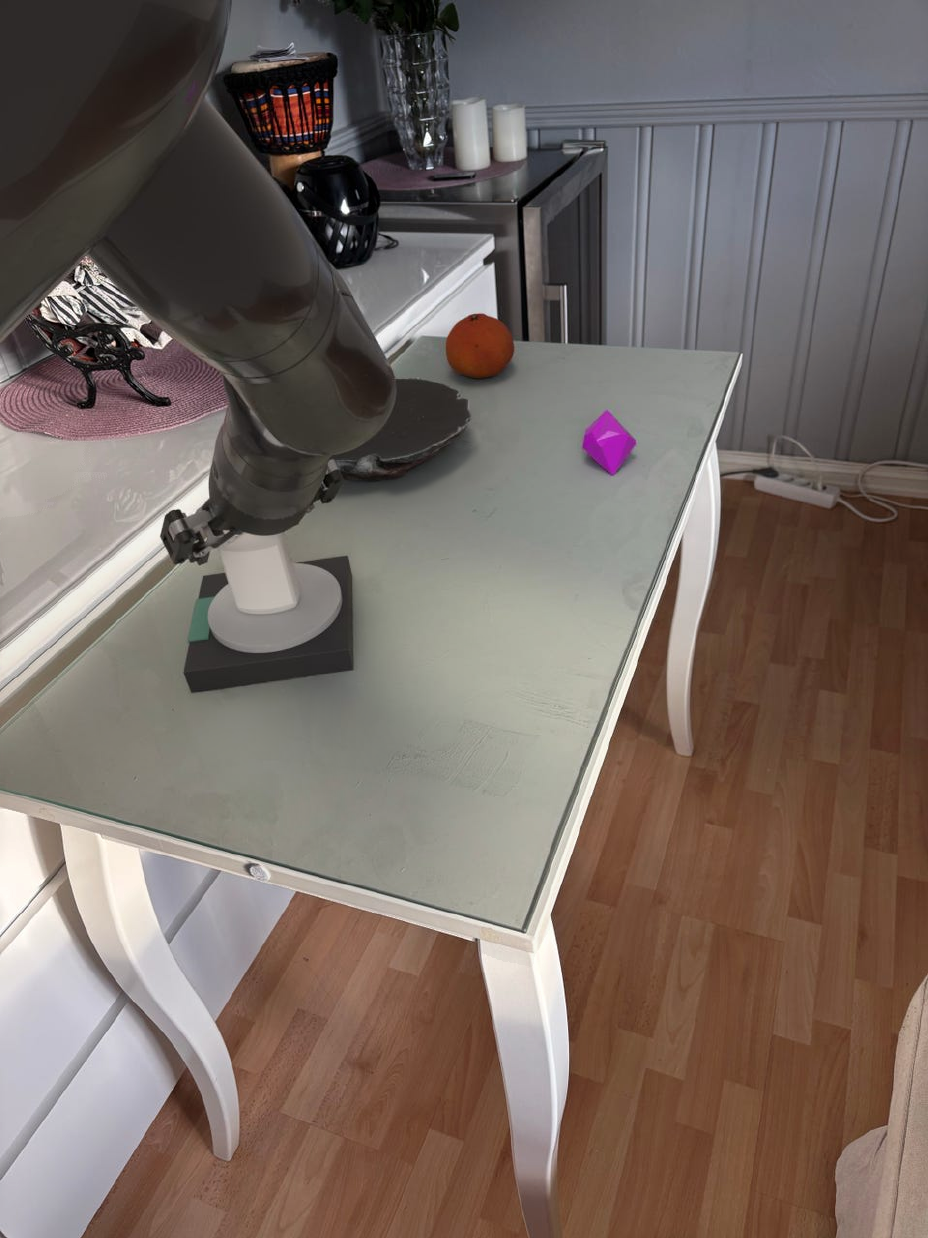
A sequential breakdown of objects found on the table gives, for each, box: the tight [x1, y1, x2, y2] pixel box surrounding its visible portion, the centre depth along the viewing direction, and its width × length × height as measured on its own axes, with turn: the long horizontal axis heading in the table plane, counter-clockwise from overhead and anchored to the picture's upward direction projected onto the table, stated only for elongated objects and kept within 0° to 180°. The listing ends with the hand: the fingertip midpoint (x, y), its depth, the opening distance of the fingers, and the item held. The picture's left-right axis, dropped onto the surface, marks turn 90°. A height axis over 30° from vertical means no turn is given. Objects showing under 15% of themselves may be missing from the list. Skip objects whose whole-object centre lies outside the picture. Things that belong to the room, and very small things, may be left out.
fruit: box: [445, 312, 515, 379], centre depth 120 cm, size 9×9×8 cm
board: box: [332, 377, 473, 482], centre depth 106 cm, size 22×22×5 cm
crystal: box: [581, 409, 637, 476], centre depth 100 cm, size 5×5×5 cm
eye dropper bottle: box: [217, 530, 300, 615], centre depth 78 cm, size 4×6×12 cm
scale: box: [182, 555, 354, 694], centre depth 82 cm, size 14×14×3 cm
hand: (244, 534), depth 78 cm, fingers open, 8 cm apart
